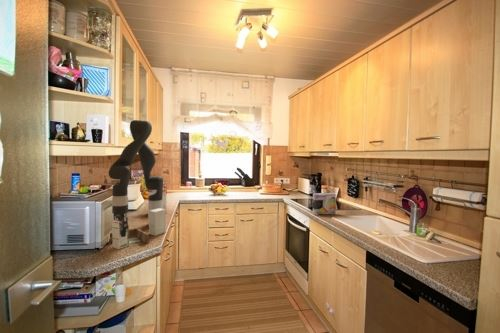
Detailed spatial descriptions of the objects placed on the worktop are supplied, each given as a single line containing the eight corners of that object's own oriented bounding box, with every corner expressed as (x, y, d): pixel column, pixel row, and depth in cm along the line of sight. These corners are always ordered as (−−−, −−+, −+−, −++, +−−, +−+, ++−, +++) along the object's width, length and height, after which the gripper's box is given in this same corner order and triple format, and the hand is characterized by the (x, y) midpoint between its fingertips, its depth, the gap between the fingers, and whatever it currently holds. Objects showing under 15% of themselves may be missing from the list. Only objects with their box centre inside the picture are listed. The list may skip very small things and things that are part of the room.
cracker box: (166, 214, 211) (166, 188, 210) (161, 215, 206) (161, 189, 205) (153, 212, 217) (153, 187, 216) (148, 213, 212) (147, 188, 211)
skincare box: (159, 231, 166) (159, 207, 165) (166, 232, 163) (166, 208, 162) (148, 234, 159) (148, 210, 158) (155, 236, 156) (155, 211, 155)
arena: (107, 242, 144) (107, 233, 143) (137, 236, 155) (137, 228, 155) (117, 250, 132) (117, 240, 132) (149, 243, 144) (148, 234, 143)
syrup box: (119, 249, 134) (118, 221, 133) (112, 247, 137) (111, 219, 136) (129, 246, 139) (128, 219, 138) (122, 244, 142) (121, 217, 141)
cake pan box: (313, 215, 215) (313, 193, 214) (311, 213, 220) (311, 192, 219) (335, 215, 217) (336, 193, 216) (333, 213, 222) (334, 192, 221)
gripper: (132, 205, 134) (133, 236, 135) (122, 201, 145) (123, 230, 145) (117, 207, 129) (117, 239, 130) (108, 203, 139) (108, 233, 140)
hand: (120, 234), depth 138 cm, fingers open, 8 cm apart
